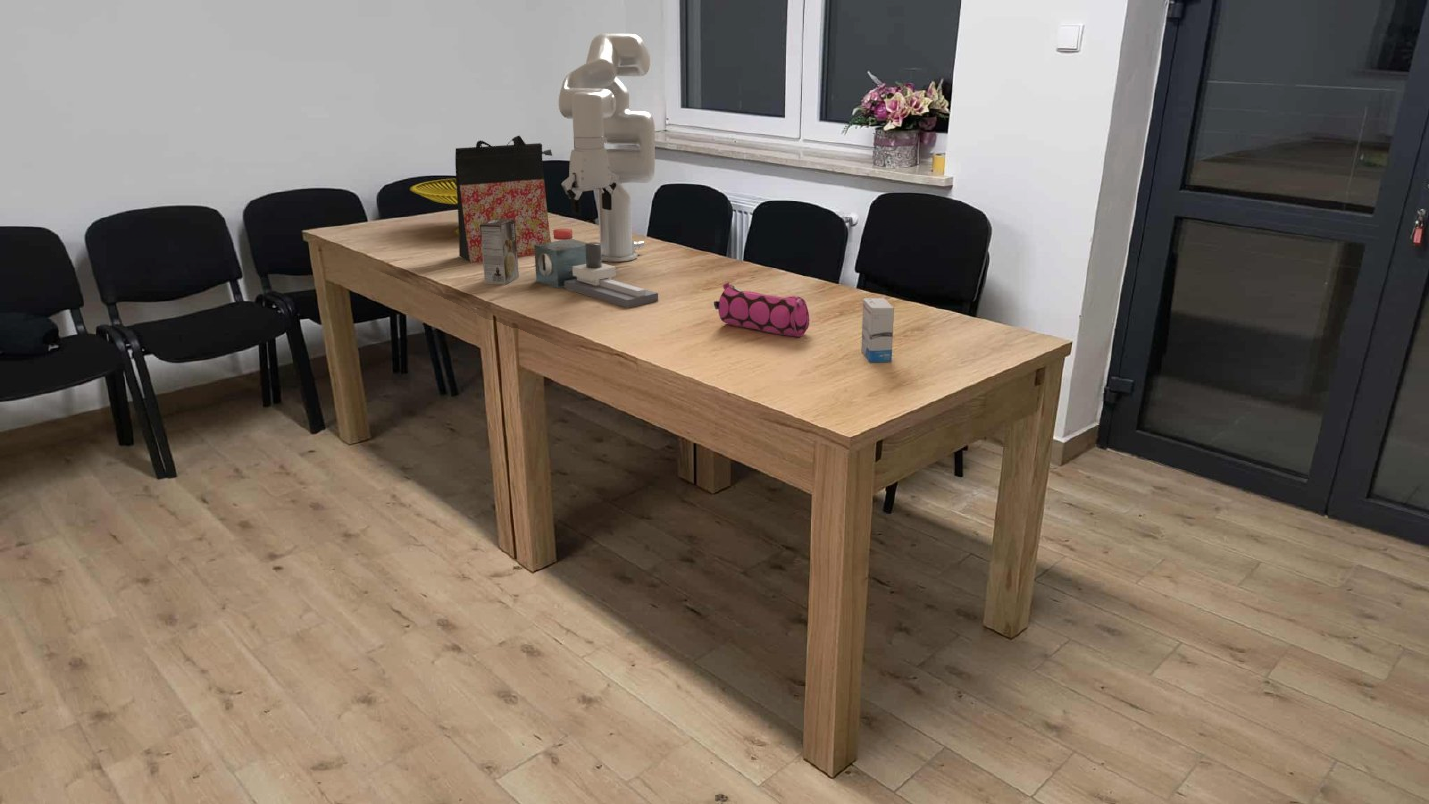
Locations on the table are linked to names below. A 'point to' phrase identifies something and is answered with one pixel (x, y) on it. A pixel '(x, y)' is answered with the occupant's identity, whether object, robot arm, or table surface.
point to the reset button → (562, 234)
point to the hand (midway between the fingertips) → (592, 212)
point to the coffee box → (499, 251)
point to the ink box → (877, 330)
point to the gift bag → (501, 194)
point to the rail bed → (613, 292)
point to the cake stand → (438, 192)
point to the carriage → (593, 266)
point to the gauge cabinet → (558, 261)
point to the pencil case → (763, 311)
